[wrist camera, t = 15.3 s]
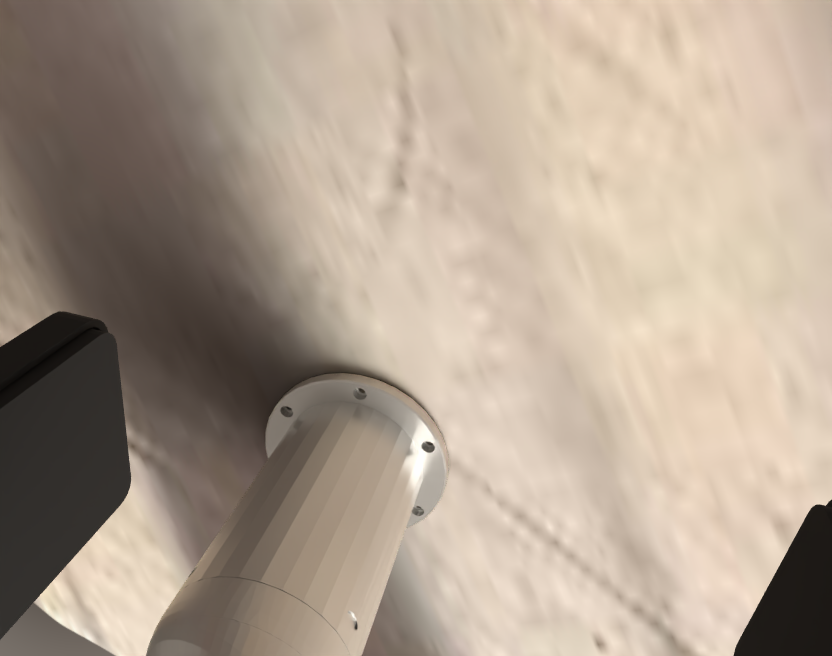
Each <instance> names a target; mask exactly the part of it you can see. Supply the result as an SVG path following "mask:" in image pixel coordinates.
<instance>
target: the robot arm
mask: <svg viewBox="0 0 832 656" xmlns="http://www.w3.org/2000/svg"><path fill="white" fill-rule="evenodd" d="M265 447H266V452H267V457H268V460H267V462H266V463H265V465H264V466H263V468H262V469H261V471H260V472H259V474H258V475H257V476H256V478H255V479H254V481H253V482H252V484H251V485H250V487H249V488H248V490H247V491H246V493H245V494H244V496H243V497H242V499H241V500H240V502H239V503H238V505H237V506H236V508H235V509H234V511H233V512H232V513H231V515H230V516H229V518H228V519H227V521H226V522H225V524H224V525H223V527H222V528H221V530H220V531H219V533H218V534H217V536H216V537H215V539H214V540H213V542H212V543H211V545H210V546H209V548H208V549H207V551H206V552H205V553H204V555H203V556H202V558H201V559H200V561H199V562H198V564H197V565H196V567H195V568H194V570H193V571H192V573H191V574H190V576H189V577H188V579H187V580H186V582H185V583H184V585H183V586H182V588H181V589H180V591H179V592H178V593H177V595H176V597H175V598H174V600H173V601H172V603H171V604H170V606H169V607H168V609H167V610H166V612H165V613H164V615H163V616H162V618H161V620H160V621H159V623H158V625H157V627H156V629H155V631H154V634H153V636H152V639H151V641H150V643H149V646H148V650H147V654H146V656H362V653H363V651H364V648H365V645H366V642H367V639H368V636H369V633H370V630H371V627H372V625H373V622H374V619H375V616H376V613H377V610H378V607H379V604H380V602H381V599H382V596H383V593H384V590H385V587H386V584H387V581H388V579H389V576H390V573H391V570H392V567H393V564H394V561H395V558H396V556H397V553H398V550H399V547H400V544H401V541H402V538H403V535H404V532H405V530H406V528H409V527H412V526H414V525H415V524H417V523H419V522H420V521H422V520H424V519H425V518H426V517H427V516H428V515H429V514H430V513H431V512H432V511H433V510H434V509H435V508H436V506H437V505H438V503H439V501H440V500H441V498H442V495H443V493H444V490H445V487H446V484H447V478H448V473H449V459H448V452H447V449H446V445H445V442H444V439H443V437H442V435H441V433H440V431H439V429H438V427H437V426H436V424H435V423H434V422H433V420H432V419H431V418H430V416H429V415H428V414H427V412H426V411H425V410H424V409H423V408H422V407H420V406H419V405H418V404H417V403H416V402H415V401H414V400H413V399H412V398H410V397H409V396H407V395H406V394H404V393H403V392H401V391H400V390H398V389H397V388H395V387H393V386H390V385H388V384H386V383H384V382H382V381H379V380H376V379H373V378H369V377H366V376H362V375H356V374H347V373H335V374H324V375H320V376H316V377H312V378H309V379H307V380H305V381H303V382H301V383H299V384H297V385H295V386H294V387H293V388H292V389H290V390H289V391H288V392H287V393H286V394H285V395H284V396H283V397H282V398H281V400H280V401H279V402H278V404H277V405H276V406H275V408H274V410H273V411H272V413H271V415H270V417H269V419H268V423H267V427H266V431H265ZM130 484H131V472H130V463H129V454H128V445H127V435H126V426H125V417H124V408H123V399H122V390H121V380H120V371H119V362H118V353H117V344H116V340H115V338H114V336H113V335H112V334H110V333H108V330H107V327H106V326H105V324H104V323H103V322H102V321H100V320H98V319H93V318H89V317H85V316H81V315H77V314H73V313H68V312H57V313H54V314H52V315H50V316H49V317H47V318H46V319H44V320H42V321H41V322H39V323H38V324H36V325H35V326H33V327H31V328H30V329H28V330H27V331H25V332H24V333H22V334H20V335H19V336H17V337H16V338H14V339H12V340H11V341H9V342H8V343H6V344H5V345H3V346H1V347H0V639H1V638H2V637H3V636H4V635H5V633H7V631H8V630H9V629H10V628H11V627H12V626H13V625H14V624H15V623H16V621H17V620H18V619H19V618H20V617H21V616H22V615H23V614H24V612H25V611H26V610H27V609H28V608H29V607H30V605H31V604H32V603H33V602H34V601H35V600H36V599H37V598H38V597H39V596H40V594H41V593H42V592H43V591H44V590H45V589H46V588H47V587H48V586H49V584H50V583H51V582H52V581H53V580H54V579H55V578H56V577H57V575H58V574H59V573H60V572H61V571H62V570H63V569H64V568H65V566H66V565H67V564H68V563H69V562H70V561H71V560H72V559H73V557H74V556H75V555H76V554H77V553H78V552H79V551H80V550H81V549H82V547H83V546H84V545H85V544H86V543H87V542H88V541H89V540H90V538H91V537H92V536H93V535H94V534H95V533H96V532H97V531H98V529H99V528H100V527H101V526H102V525H103V524H104V523H105V522H106V520H107V519H108V518H109V517H110V516H111V515H112V514H113V513H114V512H115V510H116V509H117V508H118V507H119V506H120V505H121V504H122V502H123V501H124V499H125V498H126V496H127V494H128V491H129V488H130ZM734 656H832V500H831V501H829V503H828V504H827V505H826V506H824V505H815V506H814V507H812V508H811V510H810V511H809V513H808V514H807V516H806V518H805V520H804V522H803V523H802V525H801V527H800V529H799V531H798V533H797V535H796V536H795V538H794V540H793V542H792V544H791V546H790V547H789V549H788V551H787V553H786V555H785V557H784V558H783V560H782V562H781V564H780V566H779V568H778V570H777V571H776V573H775V575H774V577H773V579H772V581H771V582H770V584H769V586H768V588H767V590H766V592H765V593H764V595H763V597H762V599H761V601H760V603H759V604H758V606H757V608H756V610H755V612H754V614H753V616H752V617H751V619H750V621H749V623H748V625H747V627H746V628H745V630H744V632H743V634H742V636H741V638H740V639H739V641H738V643H737V646H736V648H735V652H734Z"/></svg>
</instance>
